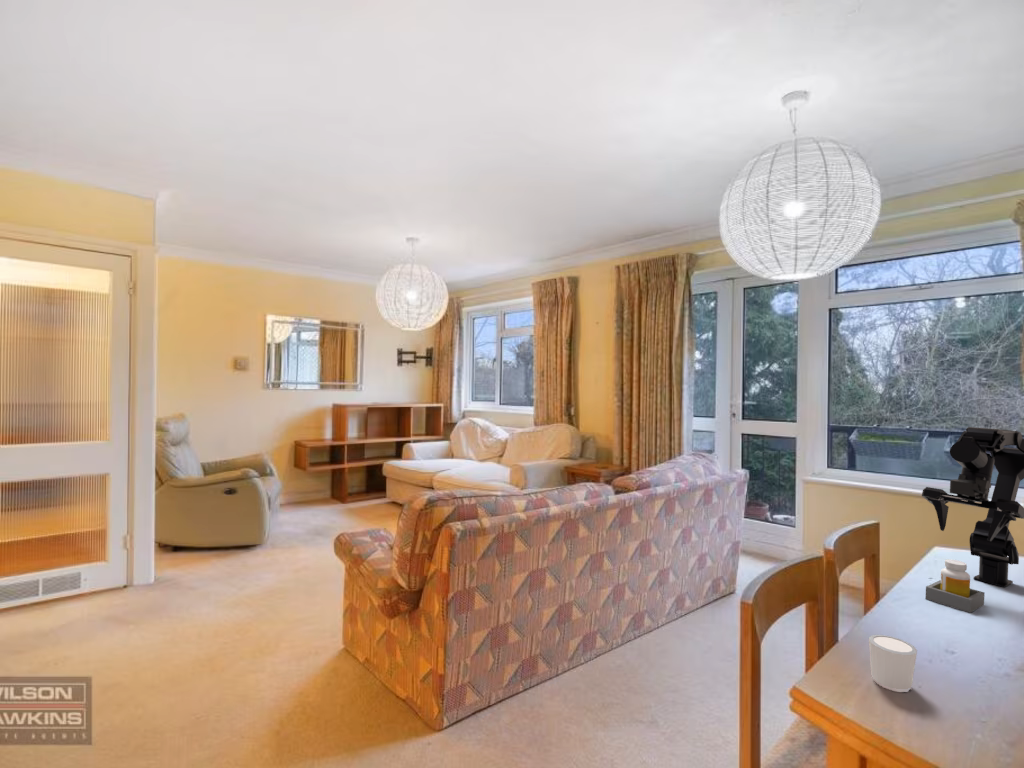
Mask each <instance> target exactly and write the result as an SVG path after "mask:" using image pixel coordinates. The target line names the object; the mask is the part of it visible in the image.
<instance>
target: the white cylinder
mask: <svg viewBox="0 0 1024 768" xmlns="http://www.w3.org/2000/svg"><path fill="white" fill-rule="evenodd" d="M868 646H869V647H868V649H869V663H870V672H871V673H870V674H871V675H872V677H873V679H875V680H876V681H877V682H879V683H881V684H883V685H884V686H888V687H890V688H896V689H908V688H911V686H912V687H913V678H914V672H915V666H916V660H917V656H918V655H917V654H918V650H917V647H915V645H912V644H911V643H910V642H907V641H905V640H903V639H901V638H897V637H895V636H890V635H884V634H873V635H870V636H869V638H868ZM872 677H871V678H872ZM911 689H912V688H911Z"/></svg>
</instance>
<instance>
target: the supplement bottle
mask: <svg viewBox="0 0 1024 768" xmlns="http://www.w3.org/2000/svg"><path fill="white" fill-rule="evenodd" d="M967 569H968V565H967V563H966V562H963V561H961V560H957V559H945V561H944V567H943V568H941V570H940V580H941V587H940V590H942V591H946V592H949V593H953V594H956V595H959V596H963V597H966V598H969V596H970V589H971V575H970V574H969V573H968V572H967Z"/></svg>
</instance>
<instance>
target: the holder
mask: <svg viewBox="0 0 1024 768" xmlns="http://www.w3.org/2000/svg"><path fill="white" fill-rule="evenodd" d="M940 587H941V579H939V580H938V581H936V582H933V583H930V584H929V585H927V586H925V600H927V599H928V601H931V600H932V601H931V602H935V603H936V604H937V603H938V604H941V605H944V606H947V607H951V608H954V609H957V610H959V611H963V612H966V613H969V614H970V613H973V612H974V611H976V610H978V609H979V608H982V607H983V606H985V592H984V591H981V590H977V589H973V588H970V596H969V598H966V597H963V596H959V595H956V594H953V593H949V592H946V591H942V590H940Z"/></svg>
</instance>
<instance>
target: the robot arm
mask: <svg viewBox="0 0 1024 768" xmlns="http://www.w3.org/2000/svg"><path fill="white" fill-rule="evenodd" d="M1007 446H1015V447H1016V448H1014V447H1013V448H1012V447H1007ZM987 452H990V453H987ZM949 454H950V456H951V458H952V459H953V460H954V461H955V462H957V463H958V464H959V465H960V466H961V473H959V474H958V478H957V479H949V480H950V483H949V493H947V492H946V491H945V490H943V488H936V487H935V488H934V487H929V486H926V487H925V488H923V489H922V491H921V493H922V494H921V497H922V498H924V499H925V500H927V502H929V504H930V505H933V507H934V510H935V513H936V517H937V520H938V525H939V529H940V531H942V532H944V531H945V528H946V525H947V519H948V512H949V506H948V505H947V504H948V503H949V502H950V503H954V504H961V505H965V506H971V507H978V508H984V509H988V510H987V515H986V518H985V519H983V520H978V521H976V522H975V527H974V530H973V532H971V534H970V536H969V548H970V556H975V557H979V559H978V560H979V562H978V564H979V565H978V566H979V567H978V574H977V575H975V576H973V580H976V581H979V582H984V583H988V584H991V585H995V586H999V587H1003V588H1007V587H1009V586H1010V585H1012V584H1014V583H1013V582H1014V581H1013V580H1011V579H1009V565H1011V566H1012V565H1019V564H1020V561H1019V560H1020V557H1019V556H1020V555H1019V554H1020V553H1019V551H1018V548H1017V545H1016V543H1015V539H1014V536H1013V535H1012V533H1011V531H1010V529H1009V526H1010V522H1012V521H1013V522H1014V521H1015V522H1016V521H1017V519H1023V520H1024V506H1022V505H1021V503H1019V502H1018V500H1016V498H1017V494H1018V491H1019V487H1020V483H1021V481H1023V480H1024V438H1023V434H1022V432H1020V431H1018V430H1009V429H999V428H989V427H975V426H968V427H966V428H965V430H964V431H962V433H961V434H960V436H959V438H958V439H957V440H956V442H955V443H954V444H952V446H951V447H950V448H949ZM994 467H995V469H996V471H997V477H996V480H995V484H994V485H995V486H994V488H993V492H992V496H991V499H990V500H989V495H990V494H989V493H990V489H991V488H992V483H991V482H992V477H993V471H994ZM1011 583H1012V584H1011ZM1006 586H1007V587H1006Z"/></svg>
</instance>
